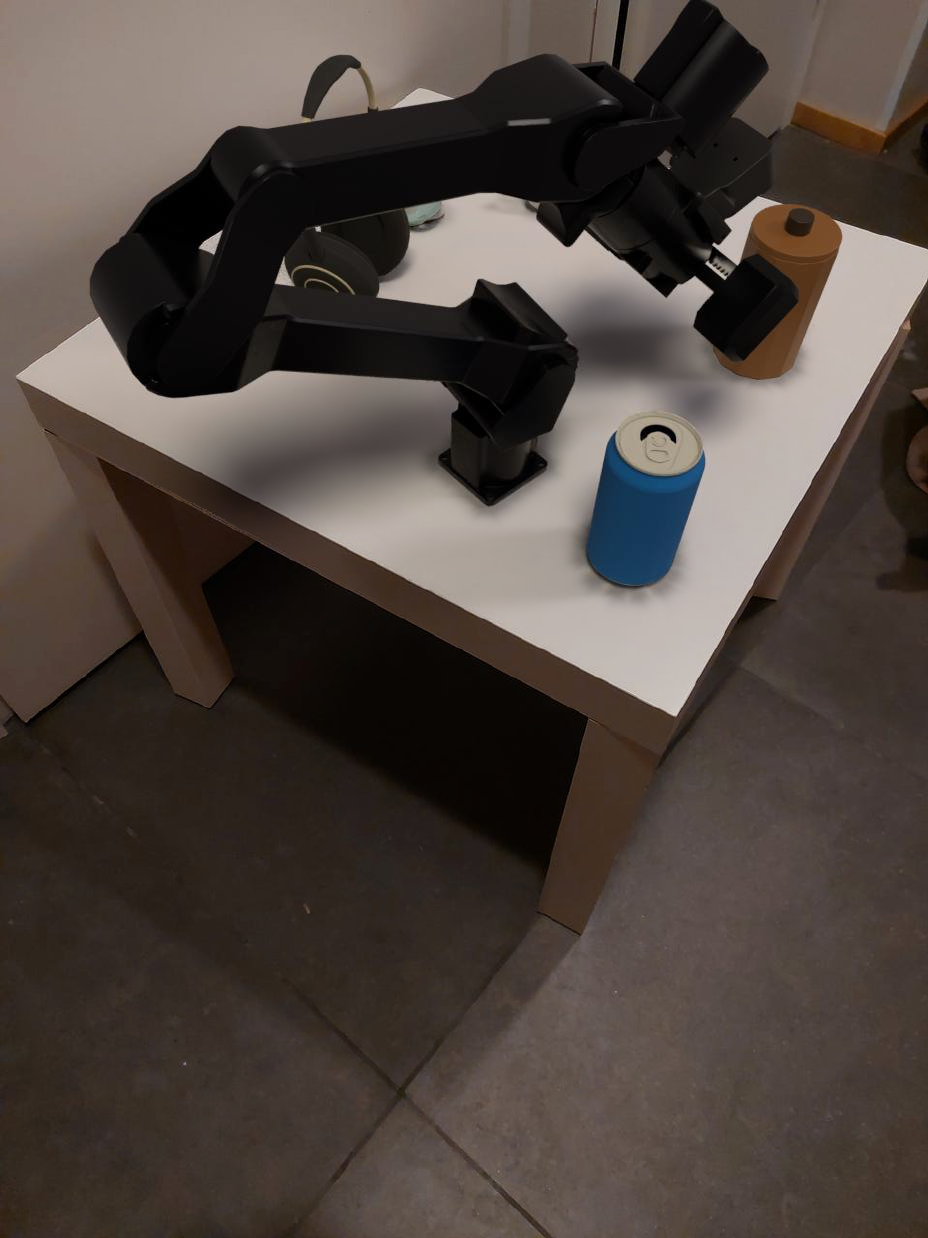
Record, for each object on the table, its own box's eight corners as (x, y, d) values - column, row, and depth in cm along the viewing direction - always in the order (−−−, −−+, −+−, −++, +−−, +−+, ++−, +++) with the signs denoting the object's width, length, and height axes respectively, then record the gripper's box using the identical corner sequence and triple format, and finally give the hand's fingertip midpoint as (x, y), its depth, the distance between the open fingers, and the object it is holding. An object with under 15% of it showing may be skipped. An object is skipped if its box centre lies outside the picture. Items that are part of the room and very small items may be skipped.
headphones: (424, 256, 88) (418, 30, 71) (362, 350, 80) (340, 121, 63) (344, 237, 89) (320, 11, 73) (275, 327, 82) (231, 98, 65)
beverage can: (670, 527, 69) (707, 409, 59) (673, 595, 66) (713, 483, 56) (586, 520, 69) (609, 402, 59) (584, 587, 66) (608, 474, 56)
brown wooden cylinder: (731, 383, 78) (777, 246, 67) (703, 331, 82) (742, 194, 71) (806, 373, 79) (864, 236, 68) (775, 322, 83) (825, 185, 72)
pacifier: (393, 191, 94) (365, 220, 91) (391, 130, 89) (361, 158, 86) (456, 210, 92) (430, 239, 89) (457, 148, 87) (430, 177, 84)
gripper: (829, 168, 52) (887, 277, 65) (635, 35, 61) (719, 154, 74) (691, 324, 56) (771, 398, 69) (529, 178, 65) (625, 268, 78)
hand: (721, 298), depth 72 cm, fingers open, 9 cm apart
